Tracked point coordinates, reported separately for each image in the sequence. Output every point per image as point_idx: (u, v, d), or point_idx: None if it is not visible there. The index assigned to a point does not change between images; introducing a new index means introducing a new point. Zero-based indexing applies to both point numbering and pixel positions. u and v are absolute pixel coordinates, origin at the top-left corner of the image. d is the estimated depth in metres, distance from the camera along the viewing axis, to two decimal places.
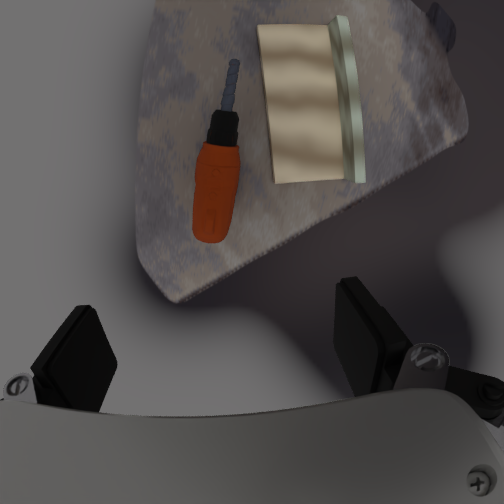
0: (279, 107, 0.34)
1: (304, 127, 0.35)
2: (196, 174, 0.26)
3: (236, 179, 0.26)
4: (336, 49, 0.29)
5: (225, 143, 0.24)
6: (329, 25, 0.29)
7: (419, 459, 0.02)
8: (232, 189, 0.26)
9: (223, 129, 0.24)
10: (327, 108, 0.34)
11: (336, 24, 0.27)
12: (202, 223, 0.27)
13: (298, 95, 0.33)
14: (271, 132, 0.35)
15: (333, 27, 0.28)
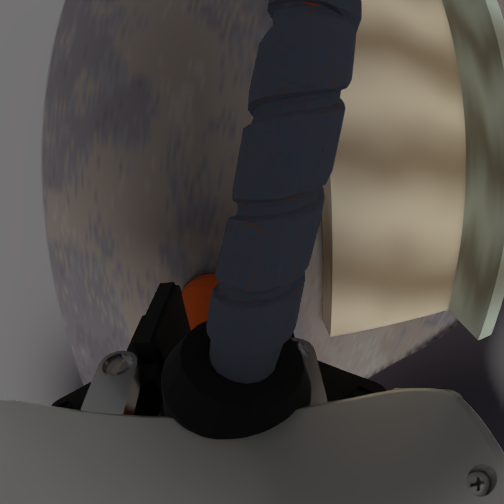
0: (357, 171, 0.14)
1: (404, 220, 0.15)
2: None
3: None
4: (473, 48, 0.10)
5: None
6: None
7: (419, 459, 0.02)
8: None
9: None
10: (448, 176, 0.14)
11: None
12: None
13: (398, 144, 0.13)
14: (334, 234, 0.15)
15: (463, 1, 0.08)
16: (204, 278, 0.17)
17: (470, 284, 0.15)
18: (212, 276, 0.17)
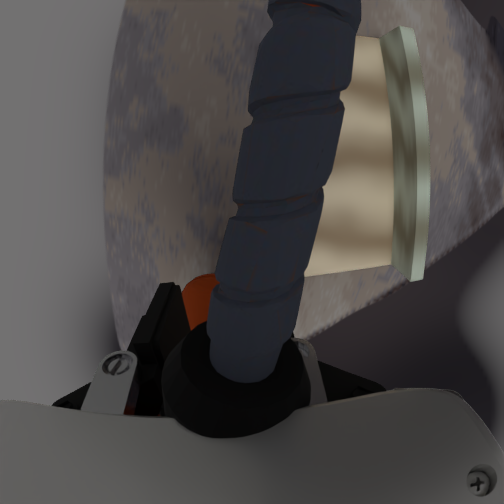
0: None
1: (345, 196, 0.24)
2: None
3: None
4: (395, 77, 0.19)
5: None
6: (382, 39, 0.19)
7: (419, 459, 0.02)
8: None
9: None
10: (378, 167, 0.24)
11: (398, 39, 0.17)
12: None
13: (339, 147, 0.23)
14: None
15: (391, 43, 0.18)
16: (205, 278, 0.17)
17: (401, 241, 0.24)
18: (212, 276, 0.17)
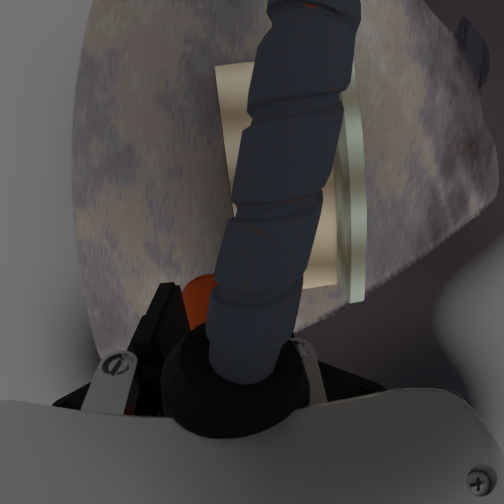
0: None
1: None
2: None
3: None
4: None
5: None
6: None
7: (419, 459, 0.02)
8: None
9: None
10: None
11: None
12: None
13: None
14: None
15: None
16: (204, 278, 0.17)
17: (342, 264, 0.27)
18: (212, 276, 0.17)
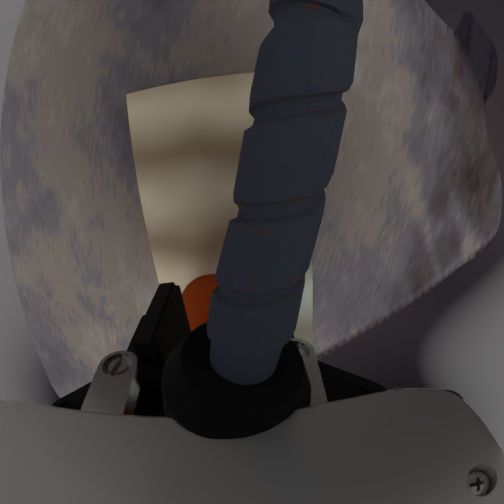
0: (171, 255, 0.21)
1: None
2: None
3: None
4: None
5: None
6: None
7: (419, 459, 0.02)
8: None
9: None
10: None
11: None
12: None
13: (203, 231, 0.21)
14: None
15: None
16: (205, 278, 0.17)
17: None
18: (213, 276, 0.17)
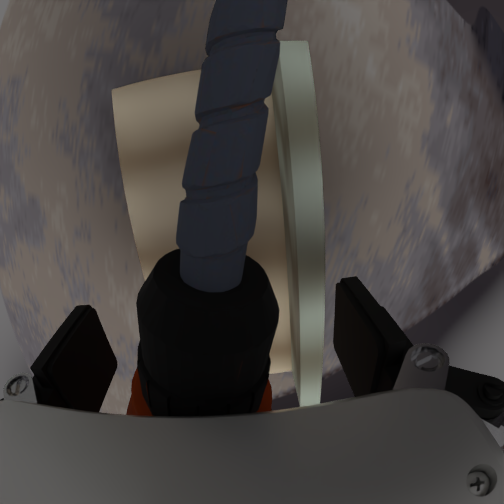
0: None
1: None
2: None
3: None
4: (280, 131, 0.14)
5: None
6: None
7: (419, 459, 0.02)
8: None
9: (202, 396, 0.04)
10: None
11: (278, 66, 0.12)
12: None
13: None
14: None
15: None
16: None
17: (294, 358, 0.20)
18: None
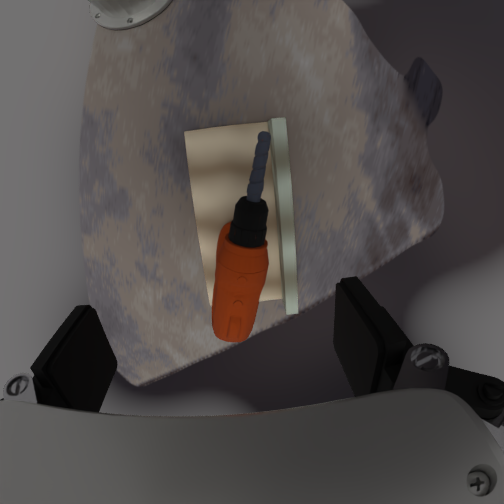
0: (210, 232, 0.35)
1: None
2: (217, 276, 0.23)
3: (264, 281, 0.23)
4: (273, 159, 0.30)
5: (253, 244, 0.21)
6: (268, 123, 0.30)
7: (419, 459, 0.02)
8: (259, 293, 0.23)
9: (250, 227, 0.21)
10: None
11: (271, 129, 0.28)
12: (225, 329, 0.23)
13: (230, 217, 0.34)
14: (202, 258, 0.36)
15: (270, 130, 0.29)
16: None
17: (282, 284, 0.36)
18: None
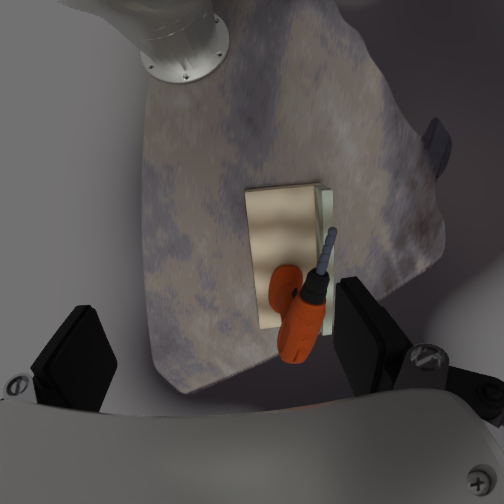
0: (264, 273, 0.43)
1: None
2: (290, 322, 0.31)
3: None
4: (318, 219, 0.39)
5: (319, 302, 0.30)
6: (315, 188, 0.38)
7: (419, 459, 0.02)
8: (318, 331, 0.32)
9: (319, 292, 0.29)
10: (306, 270, 0.44)
11: (320, 198, 0.36)
12: (293, 356, 0.32)
13: (281, 262, 0.43)
14: (257, 293, 0.45)
15: (318, 196, 0.38)
16: (284, 266, 0.42)
17: None
18: (286, 265, 0.42)
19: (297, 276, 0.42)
